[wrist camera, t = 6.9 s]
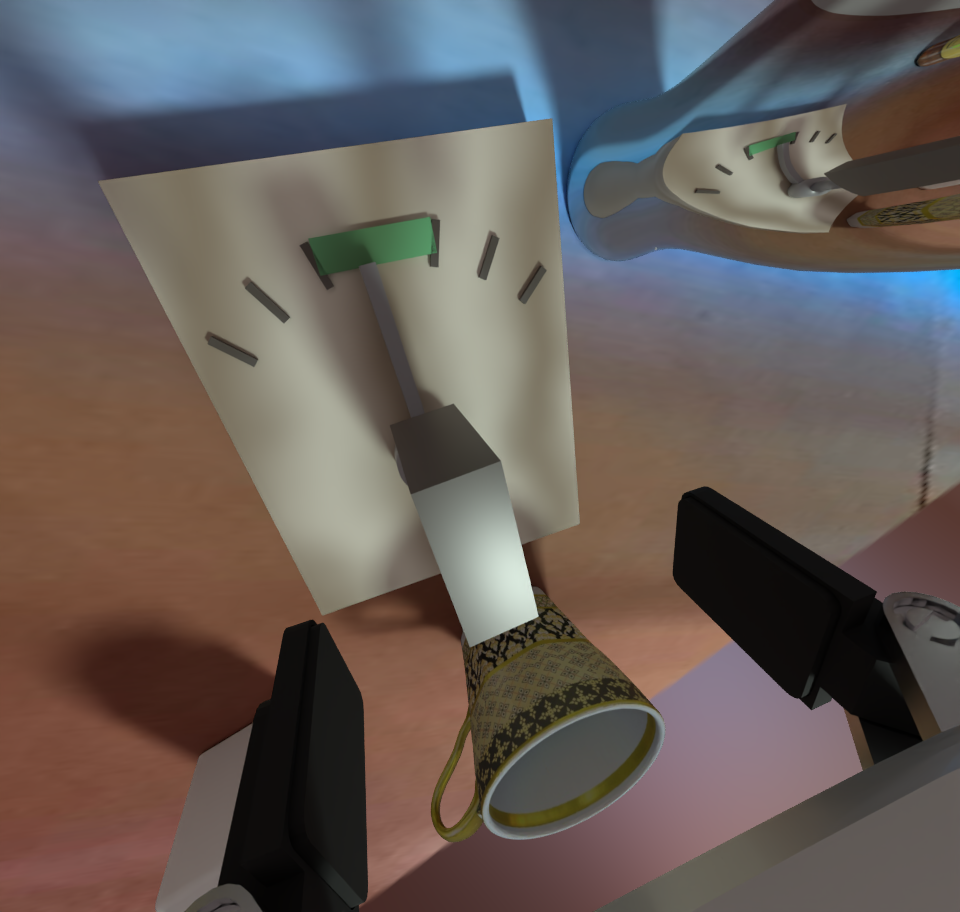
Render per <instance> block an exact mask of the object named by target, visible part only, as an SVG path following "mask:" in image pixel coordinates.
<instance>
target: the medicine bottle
mask: <svg viewBox="0 0 960 912" xmlns="http://www.w3.org/2000/svg"><path fill="white" fill-rule="evenodd" d="M252 725H253V723H252V724H250V725H249V726H247V727H245V728H244V729H242V730H240V731H239V732H237V733H236V734H234V735H232V736H231V737H229V738H227V739H226V740H224V741H222V742H221V743H219V744H217V745H216V746H214V747H212V748H211V749H209V750H207V751H206V752H204V753H202V754H201V755H200V756H199V758H198V761H197V764H196V768H195V771H194V775H193V778H192V781H191V785H190V788H189V792H188V795H187V798H186V802H185V805H184V808H183V812H182V815H181V819H180V822H179V825H178V829H177V832H176V836H175V839H174V842H173V846H172V849H171V853H170V856H169V859H168V863H167V866H166V870H165V873H164V876H163V880H162V883H161V887H160V890H159V893H158V897H157V900H156V905H155V910H156V911H157V912H184V911H185V910H186V909H187V908H188V907H189V906H190V905H191V904H192V903H193V902H194V901H195V900H197V899H198V898H199V897H201V896H202V895H204V894H205V893H207V892H208V891H210V890H211V889H213V888H216V887H217V886H218V882H219V877H220V872H221V868H222V863H223V858H224V854H225V849H226V845H227V840H228V835H229V831H230V826H231V822H232V817H233V812H234V808H235V803H236V799H237V794H238V789H239V785H240V780H241V776H242V771H243V766H244V762H245V757H246V753H247V748H248V743H249V739H250V734H251V729H252Z"/></svg>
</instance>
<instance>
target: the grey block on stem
mask: <svg viewBox="0 0 960 912" xmlns="http://www.w3.org/2000/svg"><path fill="white" fill-rule="evenodd" d="M359 269H360V272H361V275H362V278H363V281H364V284H365V287H366V289H367V292H368V295H369V298H370V301H371V304H372V307H373V310H374V312H375V315H376V318H377V321H378V324H379V327H380V330H381V333H382V335H383V338H384V341H385V344H386V347H387V350H388V353H389V356H390V358H391V361H392V364H393V367H394V370H395V373H396V376H397V379H398V381H399V384H400V387H401V390H402V393H403V396H404V399H405V402H406V404H407V407H408V410H409V413H410V416H411V418H409V419H407V420H404V421H401V422H398V423H395V424H392V425H390V428H391V431H392V434H393V438H394V441H395V449H394V455H395V460H396V464H397V468H398V471H399V474H400V476H401V478H402V480H403V481H404V483H405V484H406V485H407V486H408V487H409V491H410V494H411V497H412V499H413V502H414V504H415V507H416V510H417V512H418V515H419V517H420V520H421V523H422V525H423V528H424V530H425V533H426V535H427V538H428V541H429V543H430V546H431V548H432V551H433V553H434V556H435V559H436V561H437V564H438V566H439V569H440V571H441V574H442V577H443V579H444V582H445V584H446V587H447V589H448V592H449V595H450V597H451V600H452V602H453V605H454V607H455V610H456V613H457V615H458V618H459V620H460V623H461V626H462V628H463V631H464V633H465V636H466V638H467V641H468V644H469V646H470V647H472V646H474V645H476V644H479V643H481V642H483V641H485V640H488V639H490V638H492V637H494V636H497V635H499V634H501V633H503V632H505V631H508V630H510V629H512V628H514V627H517V626H519V625H521V624H523V623H526V622H528V621H530V620H532V619H535V618H537V617H539V616H538V612H537V607H536V603H535V599H534V595H533V591H532V587H531V583H530V578H529V574H528V570H527V566H526V562H525V558H524V554H523V549H522V545H521V541H520V537H519V533H518V529H517V525H516V521H515V516H514V512H513V508H512V504H511V500H510V496H509V492H508V487H507V483H506V479H505V475H504V471H503V467H502V463H501V460H500V459H499V458H498V457H497V455H496V454H495V453H494V452H493V451H492V449H491V448H490V447H489V446H488V444H487V443H486V442H485V441H484V440H483V438H482V437H481V436H480V435H479V434H478V432H477V431H476V430H475V429H474V428H473V426H472V425H471V424H470V423H469V421H468V420H467V419H466V418H465V417H464V415H463V414H462V413H461V412H460V411H459V409H458V408H457V407H456V406H455V405H454V404H451V405H448V406H445V407H442V408H439V409H436V410H433V411H430V412H427V413H425V412H424V409H423V406H422V403H421V400H420V396H419V393H418V390H417V387H416V384H415V381H414V378H413V375H412V372H411V369H410V366H409V363H408V360H407V357H406V354H405V351H404V348H403V345H402V342H401V338H400V335H399V332H398V329H397V326H396V323H395V320H394V317H393V314H392V311H391V308H390V305H389V302H388V299H387V296H386V293H385V290H384V287H383V283H382V280H381V277H380V274H379V271H378V268H377V265H376V262H372V263H369V264H365V265H361V266H359Z"/></svg>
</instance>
